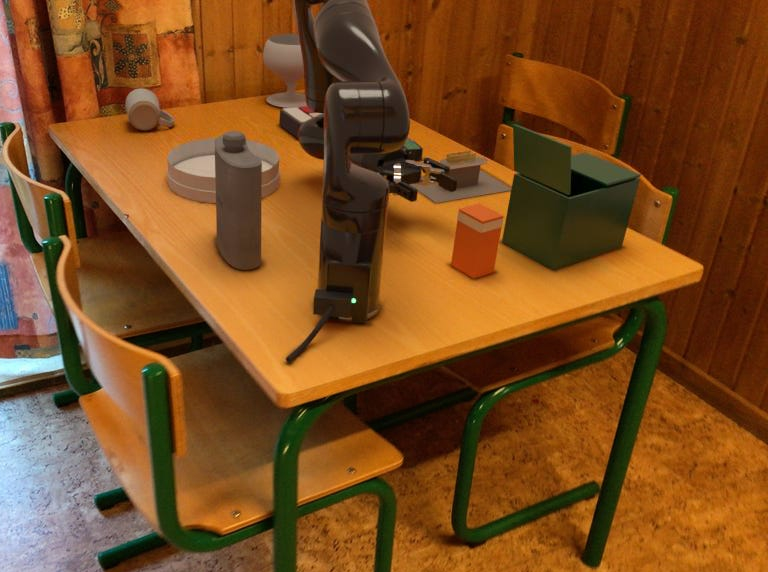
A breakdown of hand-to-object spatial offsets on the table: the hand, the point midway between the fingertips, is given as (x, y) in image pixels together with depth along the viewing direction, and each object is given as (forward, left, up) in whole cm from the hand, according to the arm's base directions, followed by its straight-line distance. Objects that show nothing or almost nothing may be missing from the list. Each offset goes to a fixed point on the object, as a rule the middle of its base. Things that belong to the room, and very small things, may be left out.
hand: (435, 191), depth 140 cm
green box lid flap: (-2, -16, +8) cm, 18 cm away
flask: (-9, +32, -10) cm, 35 cm away
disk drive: (+42, +10, -10) cm, 44 cm away
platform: (+28, -6, -10) cm, 30 cm away
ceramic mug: (+50, +63, -10) cm, 81 cm away
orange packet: (-8, -7, -9) cm, 14 cm away
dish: (+21, +40, -10) cm, 46 cm away
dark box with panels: (+56, +25, -10) cm, 62 cm away
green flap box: (+4, -23, -9) cm, 25 cm away
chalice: (+75, +34, -10) cm, 83 cm away
